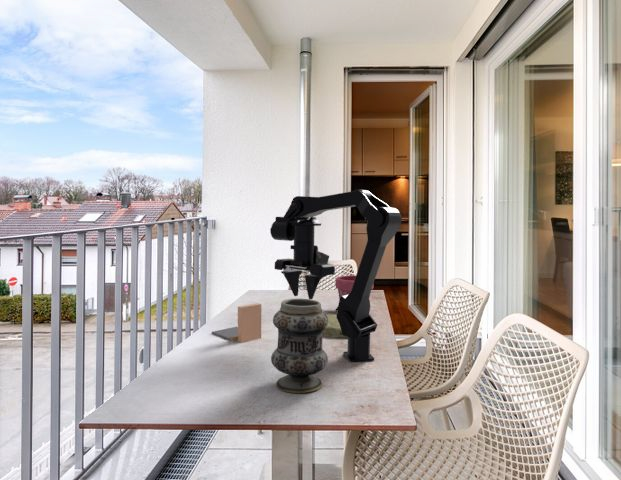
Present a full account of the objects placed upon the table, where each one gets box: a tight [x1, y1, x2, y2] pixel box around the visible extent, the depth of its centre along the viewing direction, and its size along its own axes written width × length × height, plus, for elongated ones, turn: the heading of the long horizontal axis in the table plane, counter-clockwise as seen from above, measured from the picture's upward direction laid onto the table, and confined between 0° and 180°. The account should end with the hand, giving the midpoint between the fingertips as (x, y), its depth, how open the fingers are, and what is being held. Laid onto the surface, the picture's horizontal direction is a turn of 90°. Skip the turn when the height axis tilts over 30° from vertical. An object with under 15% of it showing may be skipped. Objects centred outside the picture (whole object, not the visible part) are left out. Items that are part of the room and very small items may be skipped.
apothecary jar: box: [270, 297, 329, 394], centre depth 94 cm, size 12×12×18 cm
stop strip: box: [229, 335, 238, 343], centre depth 129 cm, size 1×10×1 cm, turn 135°
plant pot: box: [334, 274, 375, 299], centre depth 164 cm, size 14×14×13 cm
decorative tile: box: [322, 313, 348, 339], centre depth 140 cm, size 19×20×4 cm
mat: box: [211, 326, 238, 341], centre depth 133 cm, size 10×9×1 cm
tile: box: [237, 302, 262, 344], centre depth 127 cm, size 2×7×10 cm, turn 136°
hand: (303, 297), depth 124 cm, fingers open, 6 cm apart
